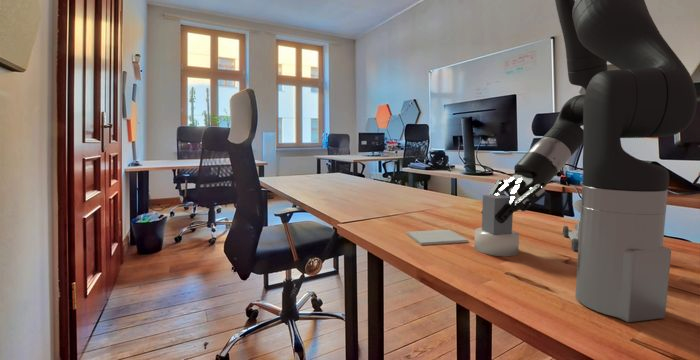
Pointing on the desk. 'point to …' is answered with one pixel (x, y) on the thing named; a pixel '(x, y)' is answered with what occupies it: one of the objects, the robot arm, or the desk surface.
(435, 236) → the rubber mat
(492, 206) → the cap block
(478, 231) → the white round part
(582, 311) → the desk surface
